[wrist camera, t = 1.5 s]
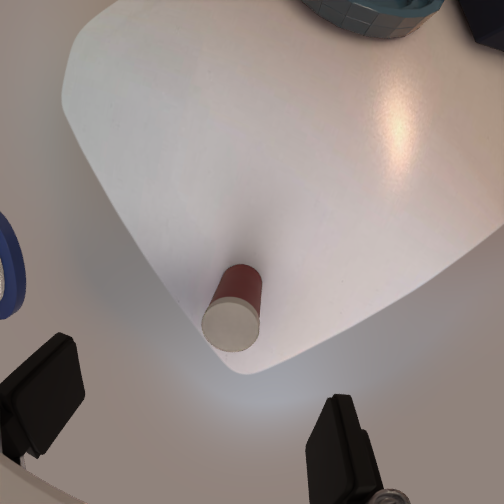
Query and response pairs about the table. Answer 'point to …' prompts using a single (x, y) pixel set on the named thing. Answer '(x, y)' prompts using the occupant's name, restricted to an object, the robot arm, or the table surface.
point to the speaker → (486, 21)
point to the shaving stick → (234, 310)
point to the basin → (376, 15)
